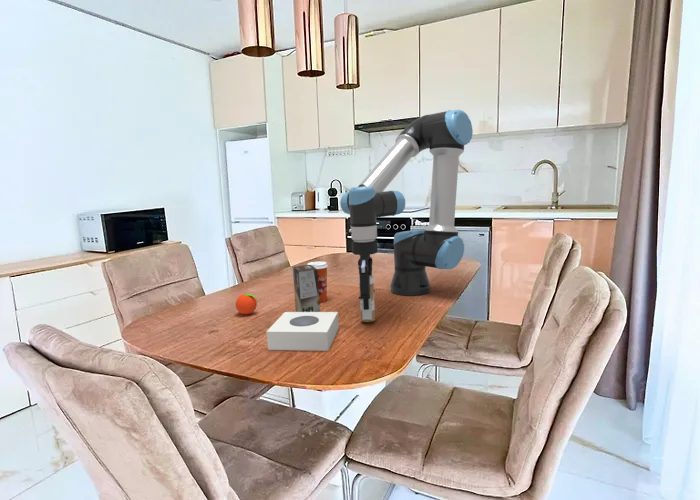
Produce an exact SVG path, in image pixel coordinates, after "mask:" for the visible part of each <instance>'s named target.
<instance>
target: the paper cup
mask: <svg viewBox="0 0 700 500" xmlns="http://www.w3.org/2000/svg"><path fill="white" fill-rule="evenodd" d="M306 265H312V266H313V267H315V268H316V269H318V285H319V301H320V304H321V303H325V302H327V301H328V299H327V297H328V267H329V266H328V264H327V262H326V261H319V260H318V261H310V262H308V263H307V264H306Z"/></svg>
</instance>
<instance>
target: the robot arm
mask: <svg viewBox="0 0 700 500" xmlns="http://www.w3.org/2000/svg"><path fill="white" fill-rule="evenodd" d="M473 132H474V131H473V124H472V121H471V119H470V117H469V116H468V114H467V113H466V112H465V111H464V110H461V109H453V110H452V109H447V110H446V111H441V112H436V113H432V114H431V113H430V114H425V115H422V116H420V117H418V118H416V119H414V120H413V121H412V122H411V123H410V124H408V125H407V126H406V127H405V128H404V129H403V130H402V131H401V132H400V133H399V134H398V135H397V137H396V139H395V143H394V144H393V146H392V147H391V148H390V149H389V150H388V151H387V153H386V154H385V155H384V156H383V157H382V158H381V160H379V162H378V163H377V164H376V165H375V167H373V168H372V170H371V171H370V172H369V173H368V174H367V176H366V177H365V178H364V179H363V180H362V181H361V183H360V184H359V185H357V186H354V187H351V188H350V189H349V191H347V192H345V193H344V194H342V196H341V197H340V200H339V201H340V202H339V203H340V205H339V206H340V208H341V210H342V211H343V212H344V214H346V215H349V220H350V229H349V230H348V232H349V233H351V234H350V236H351V240H352V242H351V253H352V254H353V255H355V256H359V259H358V260H357V265H358V266H357V267H358V274H359V277H360V285H359V296H358V300H360V299H362V318H363V320H372V311H371V298H370V276H373V258H372V257H371V255H375V254H377V253H378V240H376V239H377V238H378V227H377V218H382V217H384V218H385V217H390V216H392V217H395V216H396V215H400V214H402V213H403V212H404V211H405V207H406V198H405V195H403V193H402V192H401V191H398V190H388V191H385V189H387V187H388V186H389V185H390V184H391V182H392V181H393V180H394V179H395V178H396V177H397V175H398V174H399V173H400V172H401V171H402V170H403V168H404V167H405V165H406V164H407V163H408V162H409V161H410V160H411V158H415V157H416V156H417V155H418V154H420V152H421V151H424V150H428V149H429V153H430V154H431V155H432V156H433V157H432V159H433V161H432V174H431V175H432V177H431V190H430V191H431V193H430V205H429V206H430V209H429V223H428V225H427V226H426V227H425V228H424V229H413V230H406V231H400V232H396V233H395V234H394V236H393V243H392V244H393V261H394V263H393V264H394V272H393V274H392V275H393V276H392V279H391V282H390V292H391V293H393V294H395V295H399V296H420V295H425V294H429V293H430V292H431V283H430V280H429V276H428V274H427V271H426V267H428V268H435V269H438V270H452V269H454V268H456V267H457V266H458V265H459V264H460V263H461V261H462V258H463V256H464V253H465V244H464V240H463V239H462V238H461V237H459V230H458V229H457V228H456V227H455V219H456V218H455V216H456V215H455V214H456V203H457V189H458V174H459V161H460V159H459V157H460V156H461V155H462V154H463V153H464V152H465V146H466V145H468V144H469V143H470V142H471V141H472V138H473ZM359 277H358V278H359ZM374 293H375V288H374ZM360 294H361V296H360Z"/></svg>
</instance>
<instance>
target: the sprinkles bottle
mask: <svg viewBox="0 0 700 500" xmlns="http://www.w3.org/2000/svg"><path fill="white" fill-rule="evenodd" d="M374 283H375V277H374V276H373V275H372V276H370V298H371V311H372V320H363V318H362V299H359V309H360V310H359V311H360V321H361V322H364V323H371V322H374V321H376V313H375V311H376V306H375V305H376V304H375V303H376V302H375V292H374V289H375V287H374V285H375V284H374ZM358 285H359V286H360V277H358ZM360 296H361V294H360V293H359V297H360Z"/></svg>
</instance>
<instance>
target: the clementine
mask: <svg viewBox="0 0 700 500" xmlns="http://www.w3.org/2000/svg"><path fill="white" fill-rule="evenodd" d="M258 302H259V301H258V298H257V297H256V296H255V295H253V294H251V293H242V294H241V295H239V296H238V297H237V299H236V300H235V308H236V310H237V311H238V313H240V314H242V315H250V314H252V313H254V312H255V311H256V309H257V307H258Z"/></svg>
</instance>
